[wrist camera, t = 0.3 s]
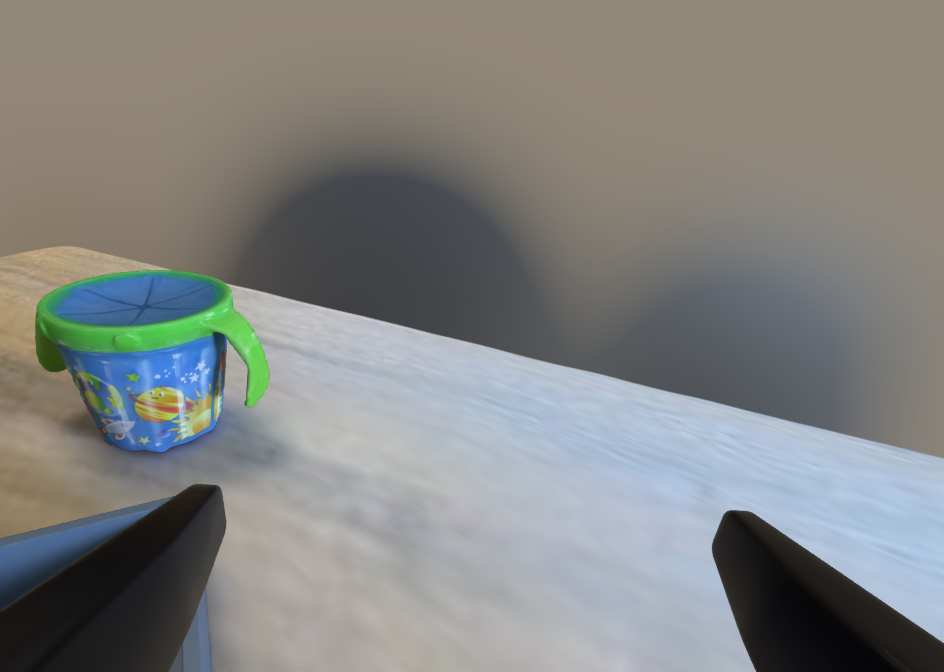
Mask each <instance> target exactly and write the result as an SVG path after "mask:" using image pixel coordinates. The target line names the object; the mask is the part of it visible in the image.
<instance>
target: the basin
mask: <svg viewBox="0 0 944 672" xmlns="http://www.w3.org/2000/svg"><path fill="white" fill-rule="evenodd" d="M173 497H175V496H173ZM173 497H169V498H165V499H161V500H157V501H152V502H148V503H144V504H140V505H136V506H132V507H128V508H124V509H120V510H116V511H112V512H107V513H103V514H99V515H95V516H91V517H87V518H83V519H79V520H75V521H71V522H67V523H62V524H58V525H54V526H50V527H46V528H42V529H38V530H34V531H30V532H26V533H22V534H17V535H13V536H9V537H5V538H1V539H0V610H1V609H3V608H4V607H6V606H7V605H9V604H10V603H12V602H13V601H15V600H16V599H18V598H19V597H21V596H23V595H24V594H26V593H27V592H29V591H30V590H32V589H33V588H35V587H36V586H38V585H39V584H41V583H42V582H44V581H46V580H47V579H49V578H50V577H52V576H53V575H55V574H56V573H58V572H59V571H61V570H62V569H64V568H66V567H67V566H69V565H70V564H72V563H73V562H75V561H76V560H78V559H79V558H81V557H82V556H84V555H85V554H87V553H89V552H90V551H92V550H93V549H95V548H96V547H98V546H99V545H101V544H102V543H104V542H105V541H107V540H108V539H110V538H112V537H113V536H115V535H116V534H118V533H119V532H121V531H122V530H124V529H125V528H127V527H128V526H130V525H132V524H133V523H135V522H136V521H138V520H139V519H141V518H142V517H144V516H145V515H147V514H148V513H150V512H151V511H153V510H155V509H156V508H158V507H159V506H161V505H162V504H164V503H165V502H167V501H168V500H170V499H171V498H173ZM169 672H212V665H211V652H210V640H209V627H208V614H207V601H206V589H204V592H203V595H202V598H201V600H200V603H199V606H198V609H197V611H196V614H195V616H194V619H193V621H192V624H191V626H190V629H189V631H188V633H187V635H186V637H185V640H184V642H183V644H182V646H181V648H180V650H179V652H178V654H177V656H176V658H175V660H174V662H173V665H172V667H171V669H170V671H169Z"/></svg>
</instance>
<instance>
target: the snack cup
mask: <svg viewBox="0 0 944 672" xmlns="http://www.w3.org/2000/svg"><path fill="white" fill-rule="evenodd" d="M35 321H36V322H35V331H36V335H35V341H36V352H37V356H38V359H39V362H40V364H41V365H42V366H43V368H45V369H46V370H47V371H50V372H58V371H62V370H65V369H68V371H69V373H70V374H71V375H72V377H73V381H74V383H75V385H76V386H77V387H78V389H79V391H80V395H81V397H82V399H83V401H84V403H85V405H86V407H87V409H88V411H89V413H90V415H91V417H92V418H93V420H94V422H95V424H96V425H97V427H98V430H99V432H100V434H101V436H102V437H103V439H104V441H106V442H107V443H108V444H109V445H115V446H116V447H118V448H121V449H124V450H135V451H138V450H148V451H154V452H165V451H166V450H167V449H169V448H170V447H172V446H175V445H180V444H184V443H187V442H190V441H192V440H193V439H195V438H198V437H199V436H201V435H202V434H204V433H206V432H210V431H211V430H212V429H213V428H214V427H215V426H216V423H217V420H218V418H219V416H220V414H221V411H222V407H223V400H224V384H225V368H226V353H227V339H228V341H229V342H230V343H231V345H232V346H233V347H234V349H235V350H236V351H237V352H238V354H239V355H240V356H241V357H242V359H243V361H244V362H245V363H246V365H247V367H248V375H247V394H246V401H245V406H247V407H253V406H254V405H255V404H256V403H257V401H258V400H259V399H260V398H261V397H262V396H263V395H264V393H265V391H266V389H267V387H268V382H269V377H270V375H269V368H268V363H267V360H266V357H265V353H264V351H263V348H262V346H261V343H260V341H259V339H258V337H257V335H256V333H255V331H254V329H253V328H252V327H251V326H250V324H249V322H248V321H247V320H246V319H245V318H244V317H243V316H242V315H241V314H240V313H238V312H237V311H236V310H234V309H233V296H232V291H231V289H230V287H229V286H228V285H226V284H225V283H224V282H222V281H220V280H218V279H216V278H213V277H210V276H206V275H202V274H198V273H192V272H184V271H167V270H146V271H131V272H121V273H113V274H107V275H101V276H97V277H92V278H88V279H84V280H80V281H76V282H73V283H70V284H68V285H65V286H62V287H60V288H58V289H56V290H54V291H52V292H50V293H49V294H47V295H45V296H44V297H43V298H42V299H41V300H40V302H39V303H38V305H37V312H36V320H35Z"/></svg>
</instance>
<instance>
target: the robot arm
mask: <svg viewBox="0 0 944 672" xmlns="http://www.w3.org/2000/svg"><path fill="white" fill-rule="evenodd" d="M225 530H226V516H225V509H224V502H223V495H222V491H221V488H220V487H219V486H217V485H207V484H195V485H192V486H190V487H188V488H187V489H185V490H184V491H182V492H181V493H179V494H178V495H176V496H175V497H173V498H171V499H170V500H168V501H167V502H165V503H164V504H162V505H161V506H159V507H158V508H156V509H155V510H153V511H151V512H150V513H148V514H147V515H145V516H144V517H142V518H141V519H139V520H138V521H136V522H135V523H133V524H132V525H130V526H128V527H127V528H125V529H124V530H122V531H121V532H119V533H118V534H116V535H115V536H113V537H112V538H110V539H108V540H107V541H105V542H104V543H102V544H101V545H99V546H98V547H96V548H95V549H93V550H92V551H90V552H89V553H87V554H85V555H84V556H82V557H81V558H79V559H78V560H76V561H75V562H73V563H72V564H70V565H69V566H67V567H66V568H64V569H62V570H61V571H59V572H58V573H56V574H55V575H53V576H52V577H50V578H49V579H47V580H46V581H44V582H42V583H41V584H39V585H38V586H36V587H35V588H33V589H32V590H30V591H29V592H27V593H26V594H24V595H23V596H21V597H19V598H18V599H16V600H15V601H13V602H12V603H10V604H9V605H7V606H6V607H4V608H3V609H1V610H0V672H169V671H170V669H171V667H172V665H173V662H174V660H175V658H176V656H177V654H178V652H179V650H180V648H181V646H182V644H183V642H184V640H185V637H186V635H187V633H188V631H189V629H190V626H191V624H192V621H193V619H194V616H195V614H196V611H197V609H198V606H199V603H200V600H201V598H202V595H203V592H204V589H205V587H206V584H207V581H208V578H209V576H210V573H211V570H212V567H213V565H214V562H215V559H216V556H217V554H218V551H219V548H220V545H221V543H222V540H223V537H224V534H225ZM712 553H713V557H714V560H715V563H716V566H717V569H718V572H719V575H720V578H721V581H722V584H723V586H724V589H725V592H726V595H727V598H728V601H729V604H730V607H731V610H732V613H733V615H734V618H735V621H736V624H737V627H738V630H739V632H740V635H741V638H742V640H743V643H744V645H745V647H746V650H747V652H748V654H749V657H750V659H751V661H752V663H753V666H754V668H755V670H756V672H944V643H943V642H941V641H940V640H938V639H937V638H935V637H934V636H932V635H931V634H929V633H928V632H927V631H925V630H924V629H922V628H921V627H919V626H918V625H916V624H915V623H913V622H912V621H910V620H909V619H907V618H906V617H905V616H903V615H902V614H900V613H899V612H897V611H896V610H894V609H893V608H891V607H890V606H888V605H887V604H886V603H884V602H883V601H881V600H880V599H878V598H877V597H875V596H874V595H872V594H871V593H869V592H868V591H866V590H865V589H864V588H862V587H861V586H859V585H858V584H856V583H855V582H853V581H852V580H850V579H849V578H847V577H846V576H844V575H843V574H842V573H840V572H839V571H837V570H836V569H834V568H833V567H831V566H830V565H828V564H827V563H825V562H824V561H823V560H821V559H820V558H818V557H817V556H815V555H814V554H812V553H811V552H809V551H808V550H806V549H805V548H803V547H802V546H801V545H799V544H798V543H796V542H795V541H793V540H792V539H790V538H789V537H787V536H786V535H784V534H783V533H781V532H780V531H779V530H777V529H776V528H774V527H773V526H771V525H770V524H768V523H767V522H765V521H764V520H762V519H761V518H760V517H758V516H757V515H755V514H754V513H752V512H749V511H736V510H730V511H727V512H726V513H725V514H724V515H723V518H722V520H721V522H720V525H719V527H718V530H717V532H716V535H715V537H714V540H713V543H712Z"/></svg>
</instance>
